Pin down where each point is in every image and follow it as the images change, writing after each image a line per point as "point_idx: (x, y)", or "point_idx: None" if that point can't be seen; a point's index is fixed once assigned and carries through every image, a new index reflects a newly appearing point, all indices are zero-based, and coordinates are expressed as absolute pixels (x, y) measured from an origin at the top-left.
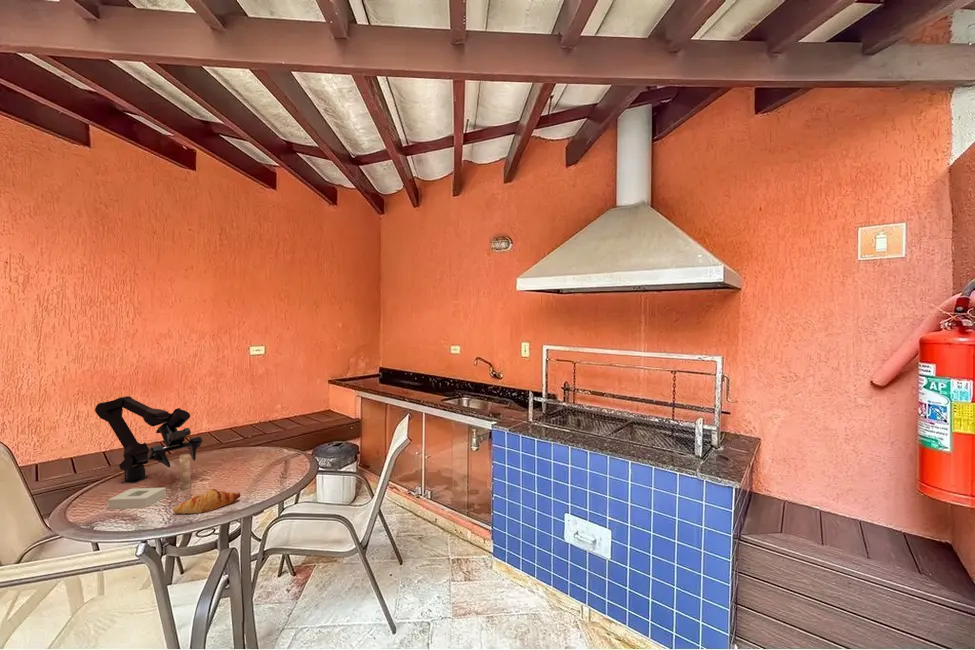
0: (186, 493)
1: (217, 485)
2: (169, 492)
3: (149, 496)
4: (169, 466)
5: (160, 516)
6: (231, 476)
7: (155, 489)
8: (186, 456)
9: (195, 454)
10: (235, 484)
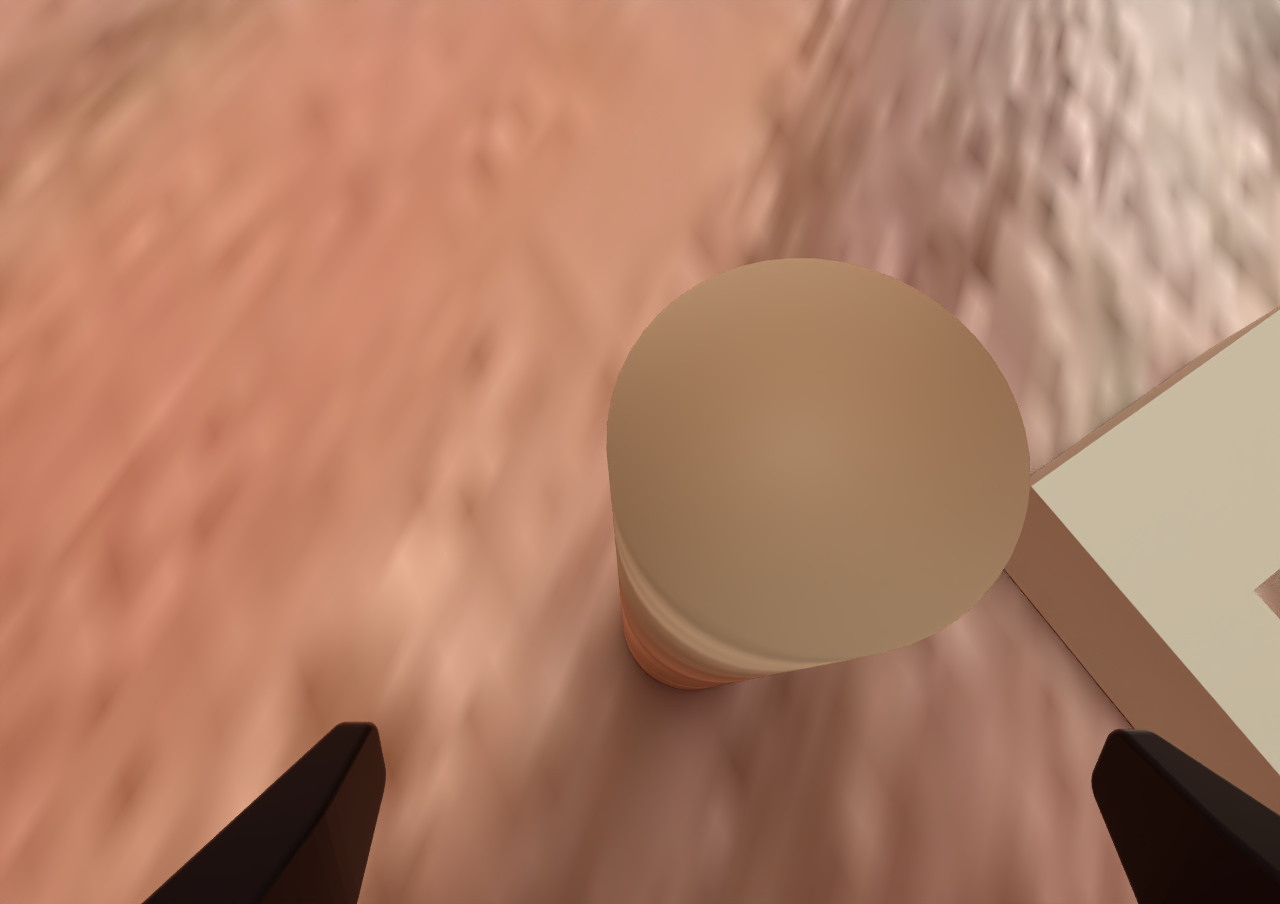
0: None
1: (420, 302)
2: None
3: (1272, 313)
4: (1130, 738)
5: (1126, 12)
6: (99, 474)
7: (1174, 549)
8: (799, 275)
9: (194, 864)
10: (305, 146)
